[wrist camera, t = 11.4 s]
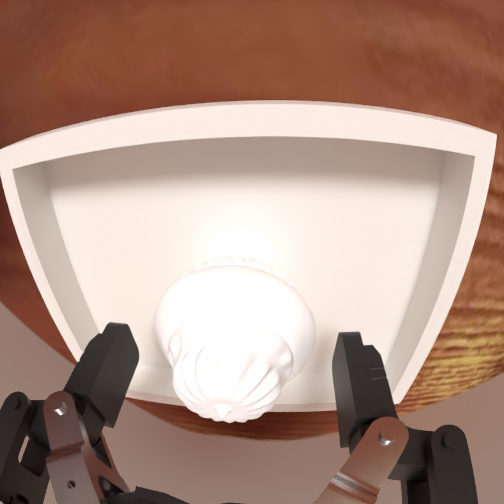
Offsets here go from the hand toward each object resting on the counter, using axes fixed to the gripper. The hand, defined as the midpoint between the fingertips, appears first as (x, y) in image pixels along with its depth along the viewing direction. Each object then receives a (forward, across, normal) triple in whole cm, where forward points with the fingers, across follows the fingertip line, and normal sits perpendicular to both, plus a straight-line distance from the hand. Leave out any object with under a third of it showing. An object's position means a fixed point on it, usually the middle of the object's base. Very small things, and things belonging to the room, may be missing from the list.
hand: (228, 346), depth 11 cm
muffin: (+4, 0, 0) cm, 4 cm away
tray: (+5, 0, 0) cm, 5 cm away
